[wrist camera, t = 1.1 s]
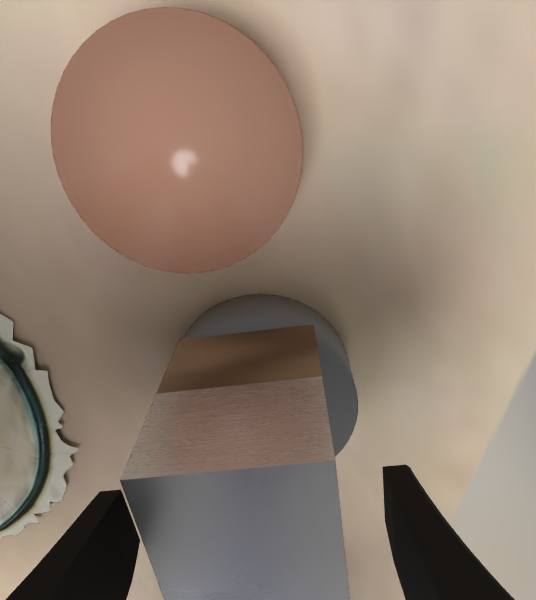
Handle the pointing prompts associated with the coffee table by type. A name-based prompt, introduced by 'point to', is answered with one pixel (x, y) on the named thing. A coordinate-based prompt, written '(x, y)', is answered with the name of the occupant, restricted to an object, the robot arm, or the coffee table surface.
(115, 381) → the coffee table surface
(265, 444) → the housing
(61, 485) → the decorative vase
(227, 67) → the stand
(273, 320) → the stand
